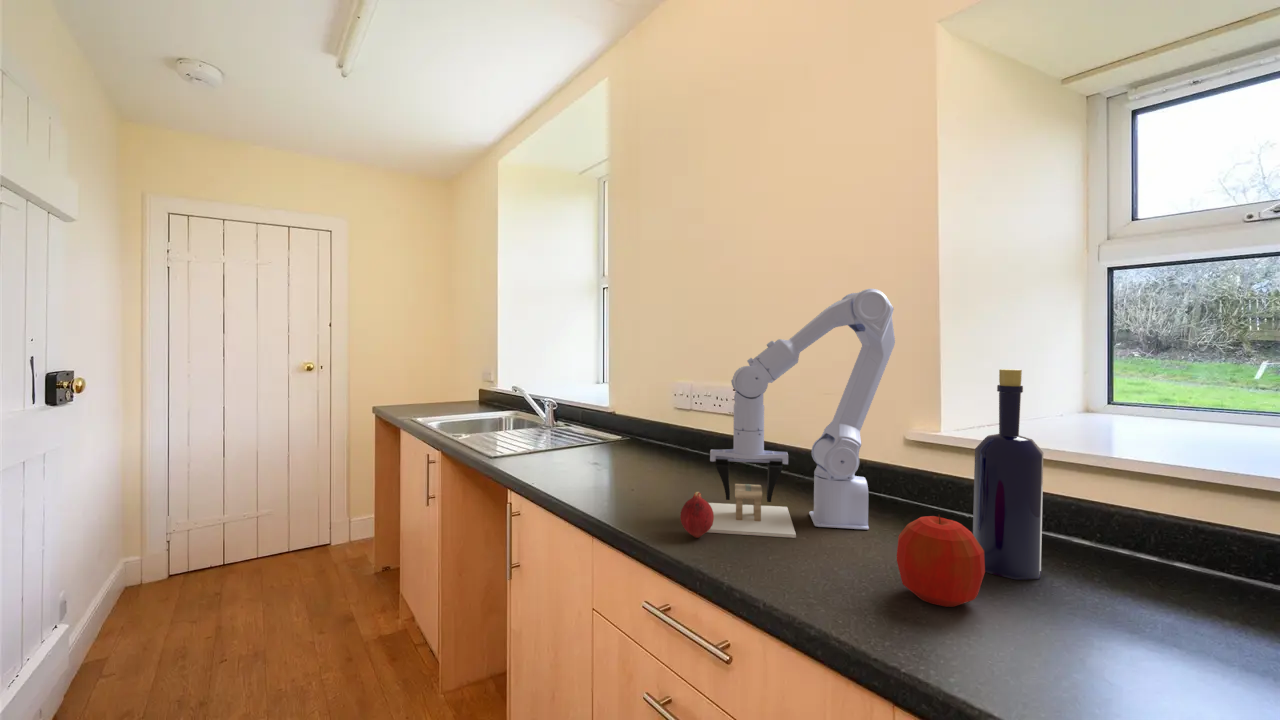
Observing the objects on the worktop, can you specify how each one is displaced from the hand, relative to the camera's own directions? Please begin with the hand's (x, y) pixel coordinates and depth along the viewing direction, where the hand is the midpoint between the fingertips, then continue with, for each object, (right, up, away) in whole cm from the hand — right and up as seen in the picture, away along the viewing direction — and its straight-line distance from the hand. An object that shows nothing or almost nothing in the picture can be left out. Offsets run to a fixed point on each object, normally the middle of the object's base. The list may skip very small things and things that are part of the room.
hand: (748, 499), depth 102 cm
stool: (0, -3, 0) cm, 3 cm away
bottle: (+35, -5, -21) cm, 41 cm away
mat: (0, -4, 0) cm, 4 cm away
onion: (-11, -5, -9) cm, 15 cm away
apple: (+19, -5, -32) cm, 37 cm away
